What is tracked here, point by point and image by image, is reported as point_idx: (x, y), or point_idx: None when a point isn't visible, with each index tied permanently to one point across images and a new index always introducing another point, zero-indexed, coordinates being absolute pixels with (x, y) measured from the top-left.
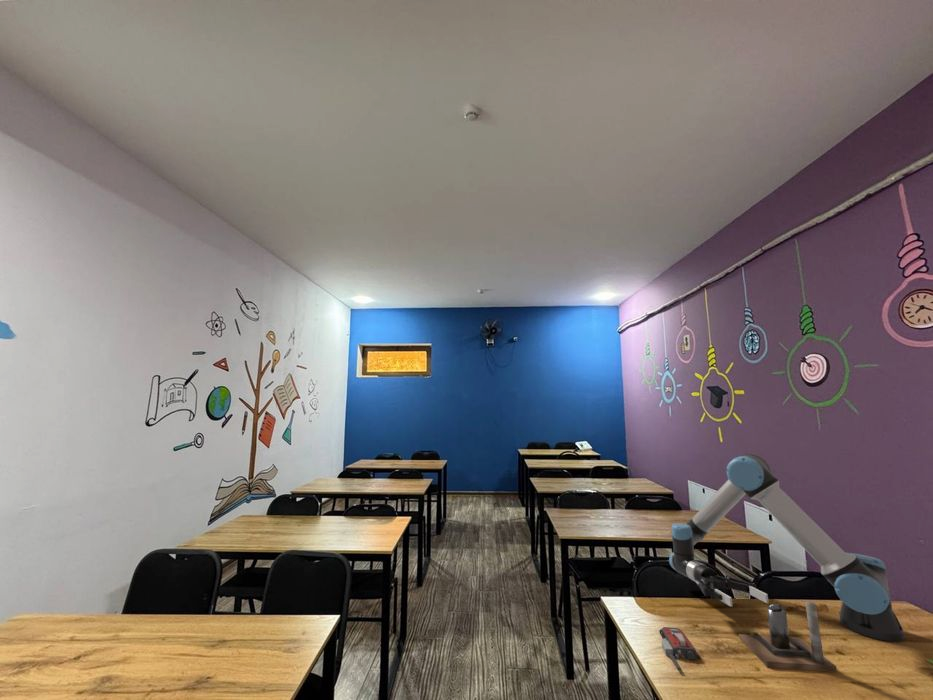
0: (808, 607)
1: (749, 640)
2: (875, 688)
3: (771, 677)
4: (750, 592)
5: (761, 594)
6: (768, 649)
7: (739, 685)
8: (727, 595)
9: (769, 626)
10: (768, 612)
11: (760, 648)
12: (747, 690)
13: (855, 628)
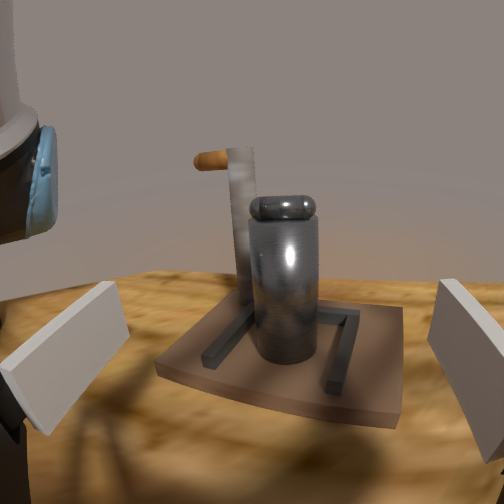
0: (253, 156)
1: (384, 376)
2: (223, 277)
3: (412, 302)
4: (42, 414)
5: (97, 315)
6: (356, 333)
7: (484, 290)
8: (459, 296)
9: (315, 295)
10: (317, 232)
11: (377, 342)
12: (475, 284)
13: None
